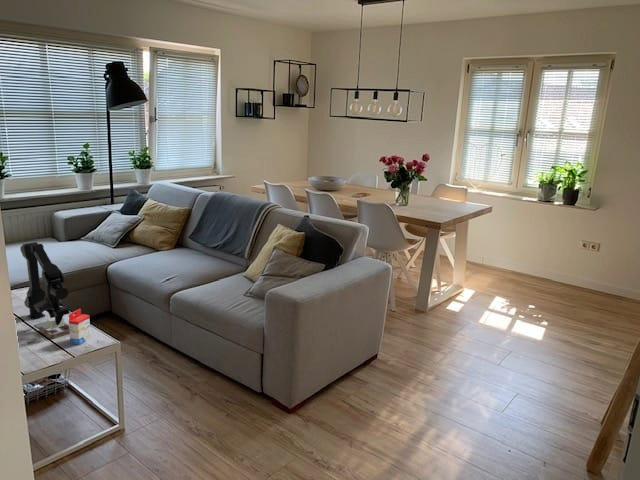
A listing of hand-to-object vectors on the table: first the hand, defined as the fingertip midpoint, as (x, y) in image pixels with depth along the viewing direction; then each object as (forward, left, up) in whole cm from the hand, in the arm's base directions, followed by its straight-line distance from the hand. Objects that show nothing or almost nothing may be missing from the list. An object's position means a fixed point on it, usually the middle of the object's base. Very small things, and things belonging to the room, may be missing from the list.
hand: (55, 323), depth 240 cm
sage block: (0, 0, -1) cm, 1 cm away
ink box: (+18, +3, -4) cm, 19 cm away
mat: (-10, 0, -4) cm, 10 cm away
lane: (+1, 0, -4) cm, 4 cm away
